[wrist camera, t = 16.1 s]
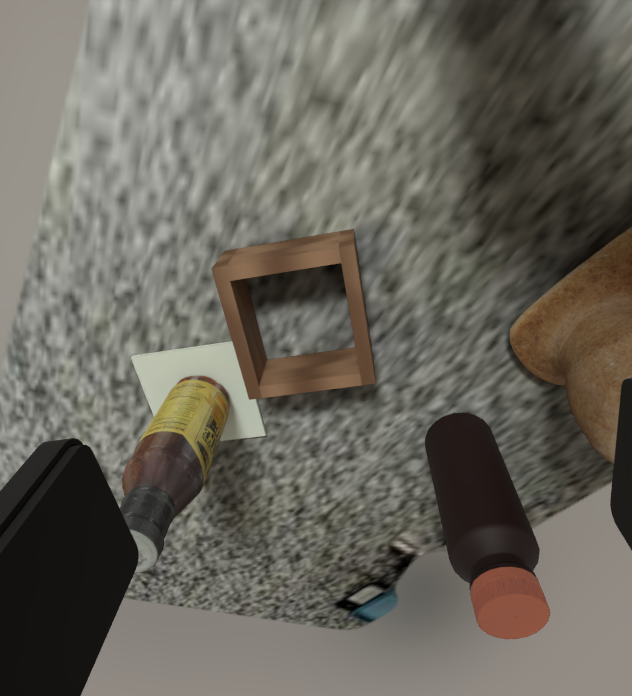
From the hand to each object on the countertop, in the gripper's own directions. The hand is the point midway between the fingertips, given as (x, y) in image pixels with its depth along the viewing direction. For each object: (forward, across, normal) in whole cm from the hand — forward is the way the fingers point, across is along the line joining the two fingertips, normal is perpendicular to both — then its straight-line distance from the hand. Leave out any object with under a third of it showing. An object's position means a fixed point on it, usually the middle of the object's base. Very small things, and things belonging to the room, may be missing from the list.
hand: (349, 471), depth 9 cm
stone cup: (+37, -20, +16) cm, 45 cm away
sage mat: (+36, +18, +19) cm, 45 cm away
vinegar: (+36, -7, +28) cm, 47 cm away
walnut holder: (+36, +6, +11) cm, 38 cm away
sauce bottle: (+36, +18, +19) cm, 44 cm away
